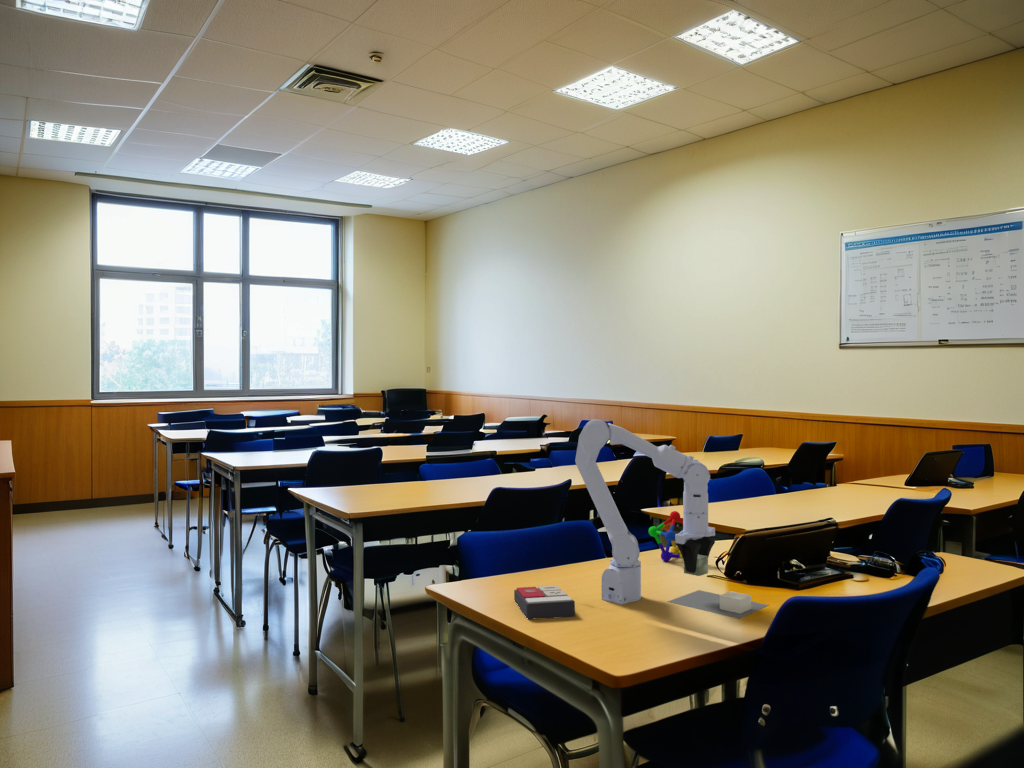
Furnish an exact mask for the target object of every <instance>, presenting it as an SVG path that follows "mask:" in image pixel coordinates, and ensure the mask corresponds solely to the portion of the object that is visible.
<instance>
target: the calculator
mask: <svg viewBox="0 0 1024 768" xmlns="http://www.w3.org/2000/svg"><path fill="white" fill-rule="evenodd" d="M513 594H514V595H513V600H515V601H514V602H516V603H517V604H518V605H517V604H516V603H515V604H516V605H517V607H518V606H519V607H520V608H519V607H518V608H519V609H520V611H521V610H522V611H521V612H522V614H523V613H524V614H523V616H524V615H525V616H526V617H525V616H524V617H525V618H528V619H527V620H534V619H533V618H546V619H555V618H554V617H562V618H574V617H575V616H576V612H575V611H576V604H575V602H576V601H575V600H574V599H573V598H572V597H571V596H569V595H568V593H566V592H565V591H564V590H562V589H561V588H560V587H559V586H558V585H544V586H543V585H541V586H538V587H536V586H525V587H524V586H523V587H521V586H520V587H516V589H514V591H513Z"/></svg>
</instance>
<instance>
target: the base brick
mask: <svg viewBox="0 0 1024 768" xmlns="http://www.w3.org/2000/svg"><path fill="white" fill-rule="evenodd" d="M719 595H720V609H723V610H727V611H731V612H736V613H740V614H741V613H743V612H745V611H747V610H750V609H751V601H752V595H751V594H745V593H740V592H736V591H732V590H730V591H728V592H724V593H722V594H719Z"/></svg>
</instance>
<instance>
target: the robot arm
mask: <svg viewBox="0 0 1024 768" xmlns="http://www.w3.org/2000/svg"><path fill="white" fill-rule="evenodd" d="M608 441H609V445H622V446H625V447H628V448H630V449H632V450H634V451H636V452H638V453H640V454H642V455H644V456H646V457H648V458H651V460H652V463H653V465H654V467H655V468H658V469H660V470H661V471H663V472H666V473H668V474H669V475H671V476H672V477H675V478H676V479H682V480H683V492H682V494H683V495H682V497H683V498H682V499H683V500H682V501H683V502H682V504H683V505H682V508H683V510H682V513H683V514H682V515H683V516H682V520H683V525H682V530H680V532H679V533H678V532H677V533H678V534H676V535H675V539H674V541H675V544H676V546H678V548H679V550H680V552H681V554H682V557H683V558H682V561H683V566H684V565H685V569H686V571H687V572H692V573H695V571H696V565H697V556H698V554H699V555H704V556H708V558H709V557H710V554H711V553H710V552H711V550H712V548H713V546H714V545H715V543H716V539H715V538H713V537H715V536H716V527H714V526H713V527H712V526H709V493H708V489H709V487H708V483H709V481H710V480H711V474H710V472H709V471H710V470H709V469H708V468H707V466H706V465H705V464H703V463H702V462H701V461H700V460H697V459H694V458H695V457H694V456H693V455H691V454H689V455H686V454H685V453H683V452H681V451H678V450H677V449H676V446H675V445H672V444H670V445H669V446H668V445H667V444H662V445H660V446H657V445H654V444H653V443H651V442H650V441H648V440H646V439H643V438H642V437H640V436H638V435H636V434H635V433H633V432H631V431H629V430H627V429H625V428H624V427H621V426H618V425H616V424H613V423H610V422H607V423H606V421H604V420H603V419H600V418H595V419H594V418H593V419H591V420H589V421H588V422H586V424H585V425H584V426H583V428H582V430H581V432H580V434H579V435H578V442H577V447H576V454H575V460H574V461H575V465H576V467H577V469H578V471H579V474H580V476H581V478H582V480H583V483H584V484H585V487H586V489H587V491H588V493H589V496H590V497H591V500H592V502H593V504H594V507H595V508H596V510H597V512H598V513H597V514H598V515H599V518H600V519H601V521H602V524H603V526H604V528H605V530H606V533H607V535H608V539H609V541H610V543H611V548H612V550H611V553H612V558H611V559H610V560H609V562H610V563H609V566H608V568H606V569H605V570H604V571H603V572H602V574H601V600H602V601H606V602H610V603H613V604H617V605H622V606H623V605H625V604H628V603H633V602H637V601H641V599H642V588H641V587H642V577H641V576H642V570H641V569H642V566H641V564H642V563H641V561H640V560H639V558H640V547H639V541H638V540H637V538H636V536H635V535H634V534H632V533H631V532H630V531H629V529H628V527H627V525H626V523H625V522H624V519H623V518H622V516H621V514H620V511H619V509H618V507H617V505H616V501H614V499H613V496H612V493H611V491H610V490H609V489H610V488H608V485H607V483H606V481H605V479H604V476H603V474H602V472H601V469H599V466H598V464H597V462H596V461H597V459H598V457H599V454H600V451H601V449H602V448H603V447H604V446H605V445H606V443H608Z"/></svg>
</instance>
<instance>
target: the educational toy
mask: <svg viewBox="0 0 1024 768" xmlns="http://www.w3.org/2000/svg"><path fill="white" fill-rule="evenodd" d="M676 522H678V523H680V524H681V525H682V526H683V518H681V514H680V512H679V511H677V510H673V511H671V512H670V514H669V517H668V518H667V519H666V520H665V521H663V522H662V523H660V524H659V525H657V526H655V525H654V526H650V527H648V534H649V536H650V537H654V539H655V541H656V543H657V545H658V547H659V549H660V551H661V553H660V558H661V560H662V561H663V562H666V561H667V562H670V560H672V559H683V557H682V554H681V552H680V550H679V548H678V546H677V545H676V543H675V535H676V534H678V532H676V533H675V531H674V530H675V526H676ZM663 530H664V531H665V532H664V531H663ZM658 535H659V536H663V537H665V540H666V541H667V542H666V546H665V548H664V545H663V543H662V541H661V539H660V537H659V536H658ZM671 546H672V547H671ZM670 547H671V549H670Z"/></svg>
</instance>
